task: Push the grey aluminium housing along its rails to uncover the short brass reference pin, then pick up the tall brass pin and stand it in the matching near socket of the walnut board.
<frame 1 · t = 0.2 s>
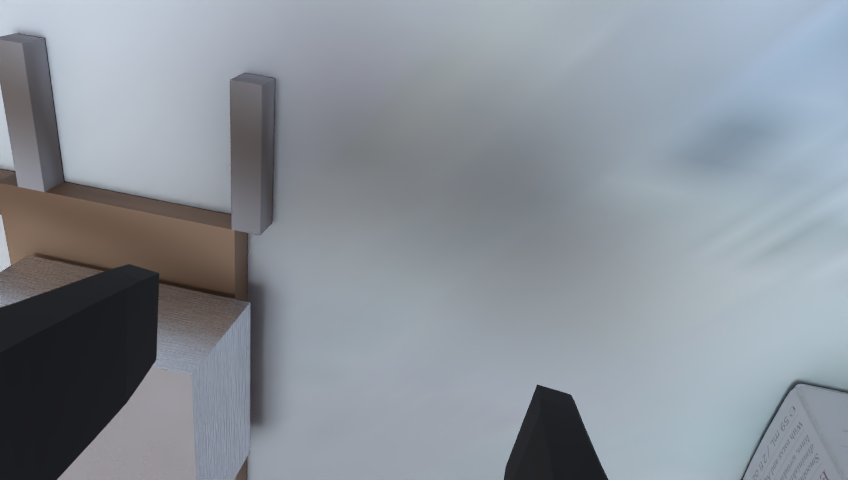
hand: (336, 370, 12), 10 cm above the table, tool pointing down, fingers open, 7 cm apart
skincare box: (821, 457, 23), on the table
housing: (110, 393, 23), point 3 cm above the table, slide at 0.0 cm
board: (88, 379, 27), on the table
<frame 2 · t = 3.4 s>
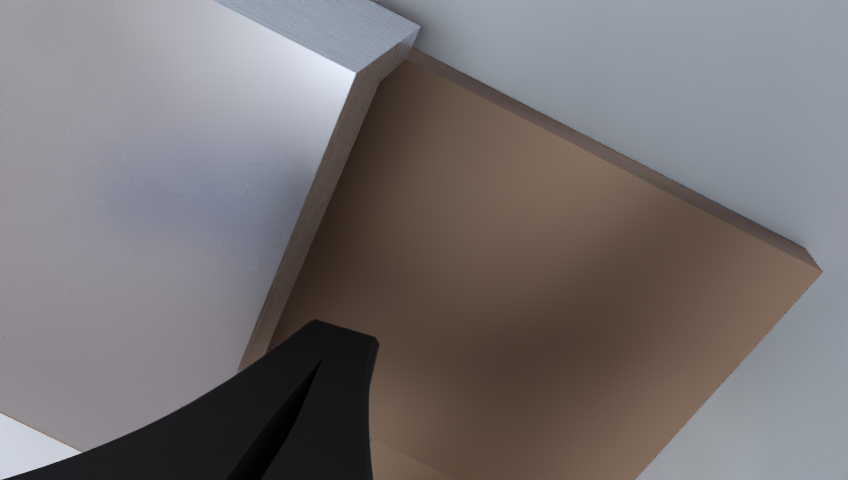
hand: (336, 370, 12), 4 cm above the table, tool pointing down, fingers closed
housing: (121, 176, 11), point 3 cm above the table, slide at 0.2 cm, touching gripper
board: (290, 306, 16), on the table
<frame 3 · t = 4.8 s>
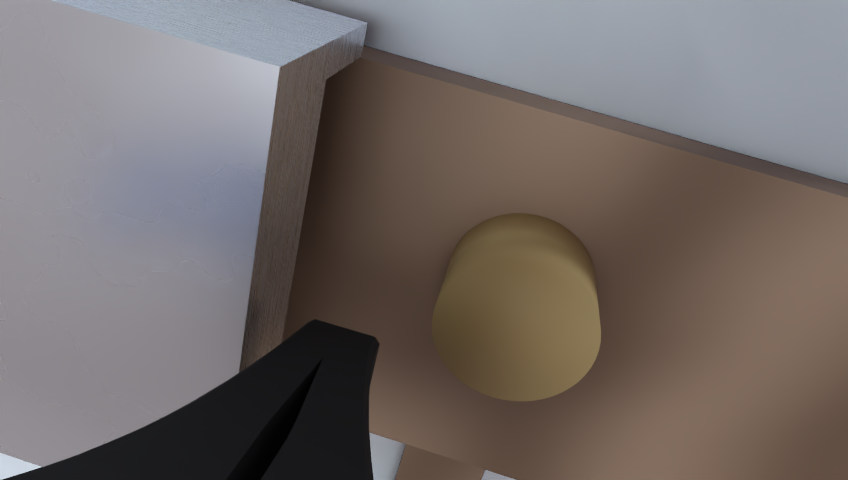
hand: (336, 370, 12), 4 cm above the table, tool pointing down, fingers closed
housing: (109, 219, 12), point 3 cm above the table, slide at 6.6 cm, touching gripper
board: (558, 404, 16), on the table
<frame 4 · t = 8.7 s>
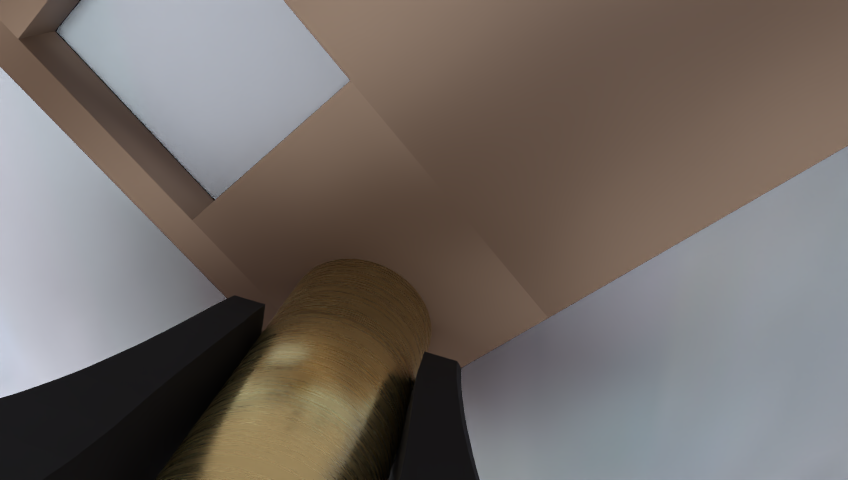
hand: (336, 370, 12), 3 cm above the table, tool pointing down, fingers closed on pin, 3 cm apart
pin: (359, 323, 13), point 1 cm above the table, touching board, gripper
when the fingers open (3 cm above the table, at t = 11.4 s): pin stays where it is, resting in board.
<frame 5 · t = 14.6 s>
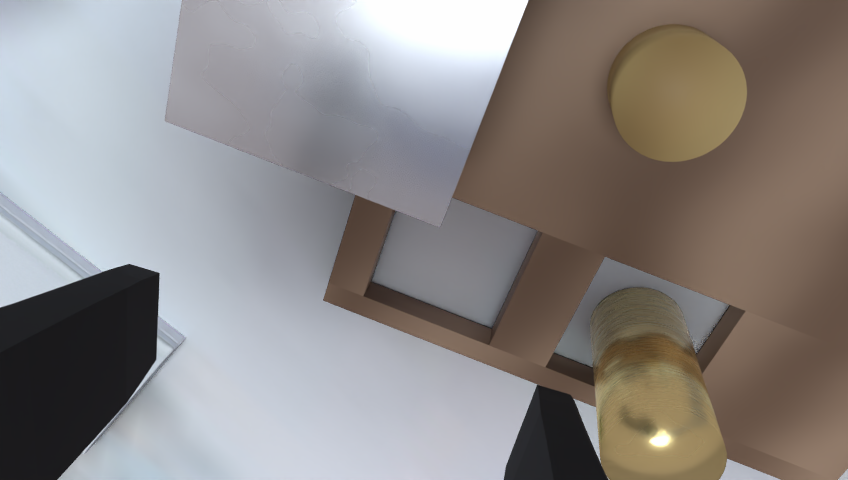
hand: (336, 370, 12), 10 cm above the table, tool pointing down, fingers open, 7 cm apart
hard drive: (26, 288, 27), on the table
pin: (636, 327, 22), resting in board
board: (667, 209, 20), on the table
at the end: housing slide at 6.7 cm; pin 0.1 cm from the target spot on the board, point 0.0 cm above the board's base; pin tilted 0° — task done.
